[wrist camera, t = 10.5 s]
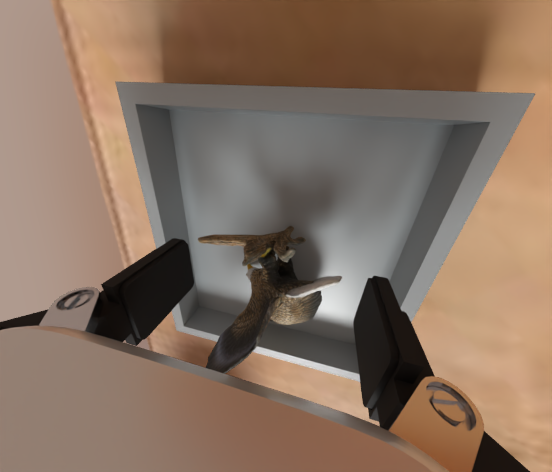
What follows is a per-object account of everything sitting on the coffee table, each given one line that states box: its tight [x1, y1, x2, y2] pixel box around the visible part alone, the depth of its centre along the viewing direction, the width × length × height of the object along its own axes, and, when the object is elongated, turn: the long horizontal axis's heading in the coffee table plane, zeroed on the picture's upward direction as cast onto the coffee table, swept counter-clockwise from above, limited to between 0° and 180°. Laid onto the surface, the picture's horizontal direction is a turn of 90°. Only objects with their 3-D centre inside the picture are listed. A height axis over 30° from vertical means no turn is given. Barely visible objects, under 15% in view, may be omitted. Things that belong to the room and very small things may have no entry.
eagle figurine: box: [198, 226, 342, 374], centre depth 12 cm, size 8×7×9 cm
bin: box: [116, 82, 535, 382], centre depth 13 cm, size 16×17×3 cm
